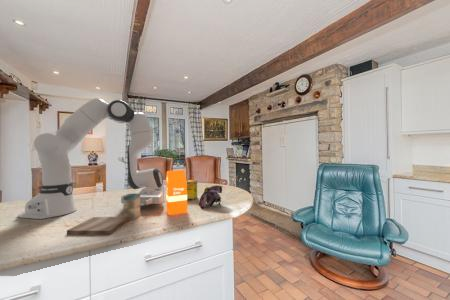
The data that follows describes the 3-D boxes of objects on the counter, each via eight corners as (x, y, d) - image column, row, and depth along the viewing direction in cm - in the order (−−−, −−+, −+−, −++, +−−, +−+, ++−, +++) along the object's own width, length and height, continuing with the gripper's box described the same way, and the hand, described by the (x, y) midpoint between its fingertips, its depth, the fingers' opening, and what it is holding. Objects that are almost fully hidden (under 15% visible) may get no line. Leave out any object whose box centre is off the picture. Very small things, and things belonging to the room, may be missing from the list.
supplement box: (194, 200, 120) (193, 181, 120) (184, 199, 121) (184, 181, 121) (197, 197, 126) (197, 179, 126) (188, 197, 127) (188, 179, 127)
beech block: (124, 219, 90) (123, 196, 90) (129, 215, 95) (129, 193, 95) (135, 219, 90) (134, 196, 90) (140, 215, 95) (139, 193, 95)
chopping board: (66, 234, 75) (66, 230, 75) (93, 220, 89) (93, 217, 89) (109, 234, 74) (109, 230, 74) (129, 220, 88) (129, 217, 88)
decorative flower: (198, 184, 116) (223, 177, 113) (206, 202, 119) (230, 195, 116) (191, 198, 102) (219, 190, 99) (200, 217, 105) (227, 210, 102)
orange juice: (166, 210, 102) (165, 170, 101) (184, 208, 105) (183, 169, 105) (168, 215, 94) (167, 171, 94) (187, 212, 98) (186, 170, 98)
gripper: (128, 189, 110) (113, 196, 96) (166, 189, 109) (156, 196, 95) (129, 201, 110) (114, 209, 96) (166, 201, 109) (156, 209, 96)
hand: (135, 202), depth 96 cm, fingers open, 8 cm apart
